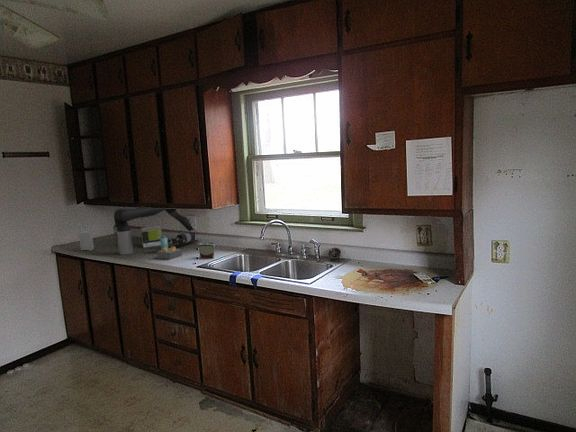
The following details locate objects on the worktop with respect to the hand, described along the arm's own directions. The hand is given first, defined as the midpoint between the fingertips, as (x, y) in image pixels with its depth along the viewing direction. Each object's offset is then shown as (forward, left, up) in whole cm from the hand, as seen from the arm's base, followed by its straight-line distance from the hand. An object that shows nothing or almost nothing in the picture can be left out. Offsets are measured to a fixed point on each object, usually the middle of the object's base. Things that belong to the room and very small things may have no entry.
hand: (168, 242), depth 292 cm
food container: (+43, -6, -7) cm, 44 cm away
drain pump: (0, -4, -7) cm, 8 cm away
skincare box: (-70, -18, -7) cm, 73 cm away
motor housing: (+15, -14, -7) cm, 22 cm away
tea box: (-29, +11, -7) cm, 32 cm away
